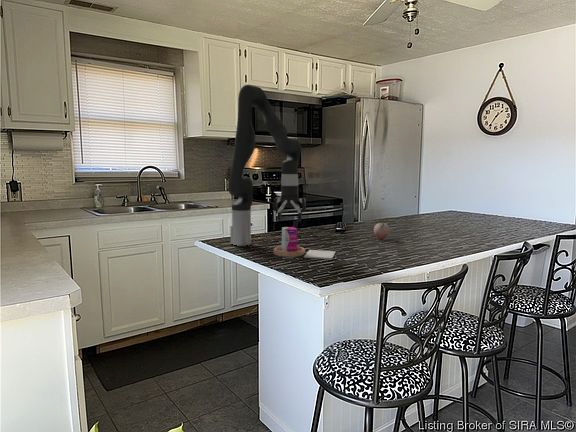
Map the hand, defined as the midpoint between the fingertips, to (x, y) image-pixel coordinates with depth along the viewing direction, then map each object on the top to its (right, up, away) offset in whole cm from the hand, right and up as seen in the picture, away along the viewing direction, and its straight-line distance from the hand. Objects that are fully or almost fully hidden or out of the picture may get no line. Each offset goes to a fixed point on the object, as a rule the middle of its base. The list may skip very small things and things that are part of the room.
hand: (289, 221), depth 182 cm
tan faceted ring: (0, -14, +2) cm, 15 cm away
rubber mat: (+13, -15, -1) cm, 20 cm away
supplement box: (0, -15, +2) cm, 15 cm away
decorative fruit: (+49, -10, +36) cm, 62 cm away
